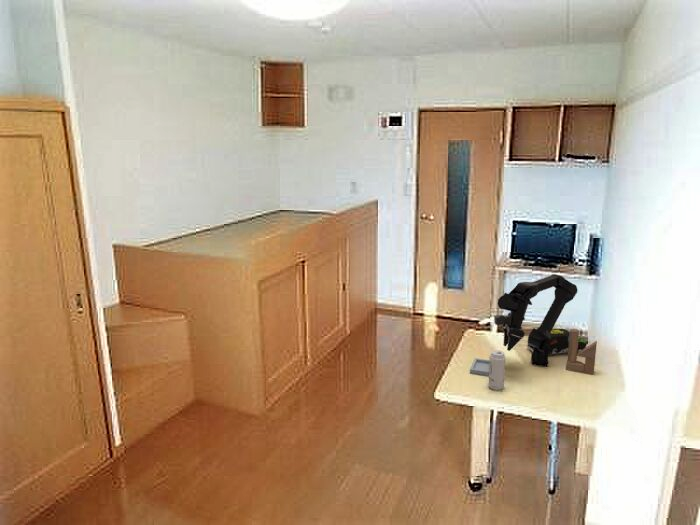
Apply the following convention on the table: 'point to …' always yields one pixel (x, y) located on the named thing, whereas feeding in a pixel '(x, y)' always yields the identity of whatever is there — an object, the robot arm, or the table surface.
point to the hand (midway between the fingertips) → (506, 348)
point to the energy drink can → (497, 370)
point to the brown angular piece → (586, 352)
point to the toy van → (562, 341)
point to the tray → (480, 367)
